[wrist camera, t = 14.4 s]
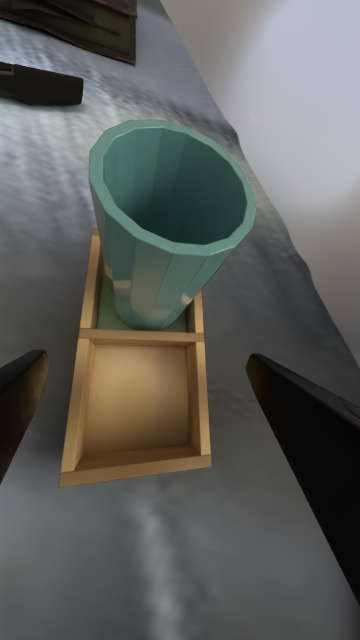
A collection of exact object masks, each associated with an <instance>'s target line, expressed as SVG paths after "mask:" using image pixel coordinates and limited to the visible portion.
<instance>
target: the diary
mask: <svg viewBox="0 0 360 640" xmlns="http://www.w3.org/2000/svg"><path fill="white" fill-rule="evenodd" d="M0 17H2V18H6V19H9V20H12V21H16V22H19V23H23V24H26V25H30V26H33V27H37V28H40V29H43V30H46V31H48V32H50V33H52V34H54V35H57V36H59V37H61V38H63V39H65V40H67V41H69V42H71V43H74V44H76V45H78V46H80V47H82V48H84V49H86V50H88V51H91V52H94V53H98V54H101V55H105V56H108V57H112V58H116V59H119V60H123V61H127V62H130V63H133V64H135V19H137V0H0Z"/></svg>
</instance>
